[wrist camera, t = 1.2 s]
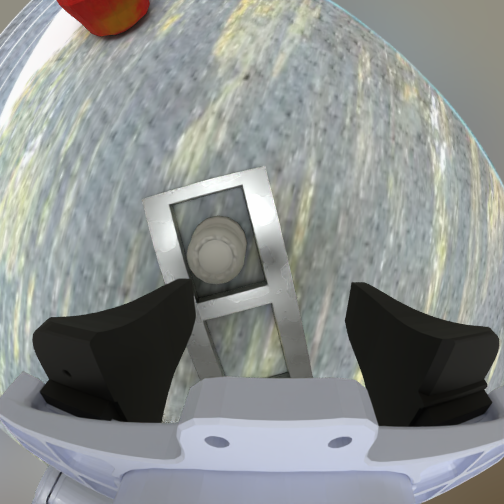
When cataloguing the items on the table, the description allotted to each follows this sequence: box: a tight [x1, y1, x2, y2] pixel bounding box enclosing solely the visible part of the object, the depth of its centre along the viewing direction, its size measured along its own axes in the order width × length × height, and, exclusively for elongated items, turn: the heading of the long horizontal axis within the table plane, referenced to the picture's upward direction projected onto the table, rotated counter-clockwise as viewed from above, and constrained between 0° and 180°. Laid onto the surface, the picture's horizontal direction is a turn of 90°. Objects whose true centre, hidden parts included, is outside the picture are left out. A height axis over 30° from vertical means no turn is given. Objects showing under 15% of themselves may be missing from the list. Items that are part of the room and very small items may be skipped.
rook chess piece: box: [187, 216, 247, 284], centre depth 18 cm, size 4×4×8 cm
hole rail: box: [142, 166, 313, 380], centre depth 23 cm, size 10×29×2 cm, turn 14°
